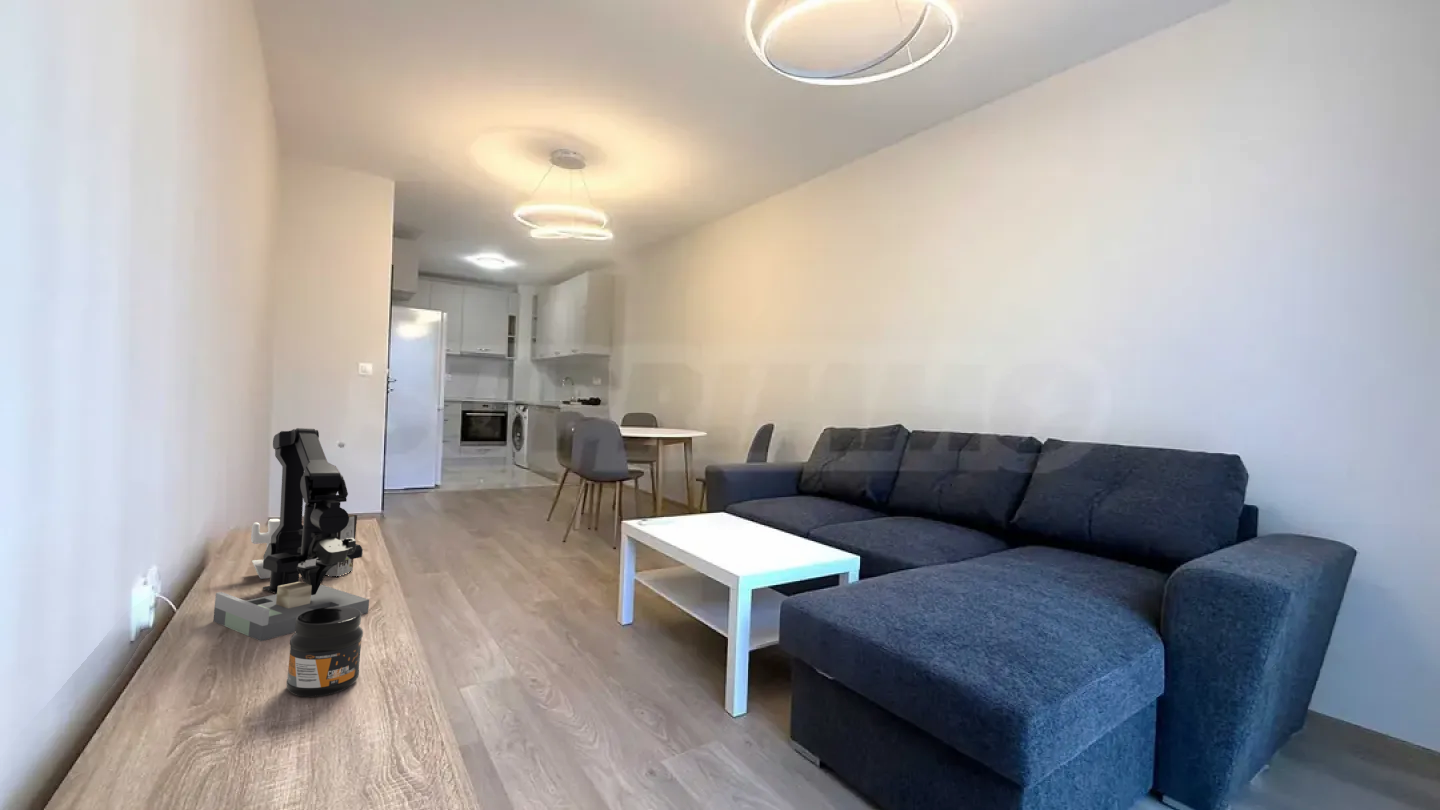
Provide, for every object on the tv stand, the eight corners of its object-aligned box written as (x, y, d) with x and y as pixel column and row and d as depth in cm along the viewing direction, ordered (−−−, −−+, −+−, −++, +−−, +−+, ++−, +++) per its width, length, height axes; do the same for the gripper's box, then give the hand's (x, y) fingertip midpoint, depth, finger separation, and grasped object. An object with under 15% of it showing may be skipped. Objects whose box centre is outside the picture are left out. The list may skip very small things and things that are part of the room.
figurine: (293, 576, 160) (299, 520, 160) (249, 581, 153) (255, 523, 153) (288, 570, 165) (293, 515, 165) (244, 574, 158) (250, 518, 158)
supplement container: (294, 706, 95) (301, 630, 96) (278, 682, 102) (285, 612, 103) (367, 687, 103) (373, 617, 103) (348, 666, 110) (354, 601, 110)
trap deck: (213, 621, 126) (215, 592, 126) (320, 596, 146) (323, 572, 146) (261, 641, 118) (263, 610, 118) (368, 612, 138) (370, 586, 138)
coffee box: (353, 571, 168) (358, 514, 168) (336, 577, 162) (342, 518, 162) (323, 568, 169) (328, 511, 169) (305, 574, 162) (311, 515, 163)
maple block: (275, 604, 130) (277, 585, 130) (297, 599, 134) (299, 581, 134) (288, 608, 128) (290, 589, 129) (310, 603, 132) (311, 585, 133)
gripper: (295, 537, 123) (289, 612, 123) (380, 525, 140) (374, 591, 140) (264, 529, 128) (258, 602, 128) (350, 518, 145) (344, 582, 145)
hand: (312, 594), depth 135 cm, fingers closed
